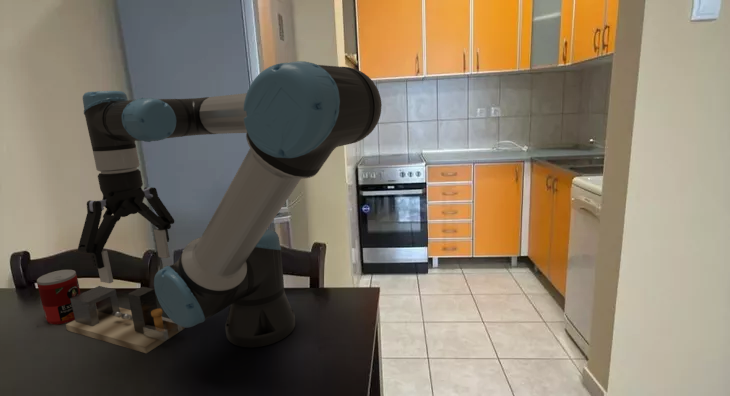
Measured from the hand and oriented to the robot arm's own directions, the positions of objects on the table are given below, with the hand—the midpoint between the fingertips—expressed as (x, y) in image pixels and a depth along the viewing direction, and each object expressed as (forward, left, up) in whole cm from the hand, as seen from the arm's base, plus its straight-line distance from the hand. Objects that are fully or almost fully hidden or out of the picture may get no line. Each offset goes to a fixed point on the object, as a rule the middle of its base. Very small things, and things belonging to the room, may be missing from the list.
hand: (137, 268), depth 86 cm
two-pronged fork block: (+2, 0, -14) cm, 14 cm away
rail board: (+7, 0, -16) cm, 18 cm away
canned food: (+28, +1, -16) cm, 32 cm away
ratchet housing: (+17, 0, -15) cm, 22 cm away
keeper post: (-3, 0, -15) cm, 15 cm away
